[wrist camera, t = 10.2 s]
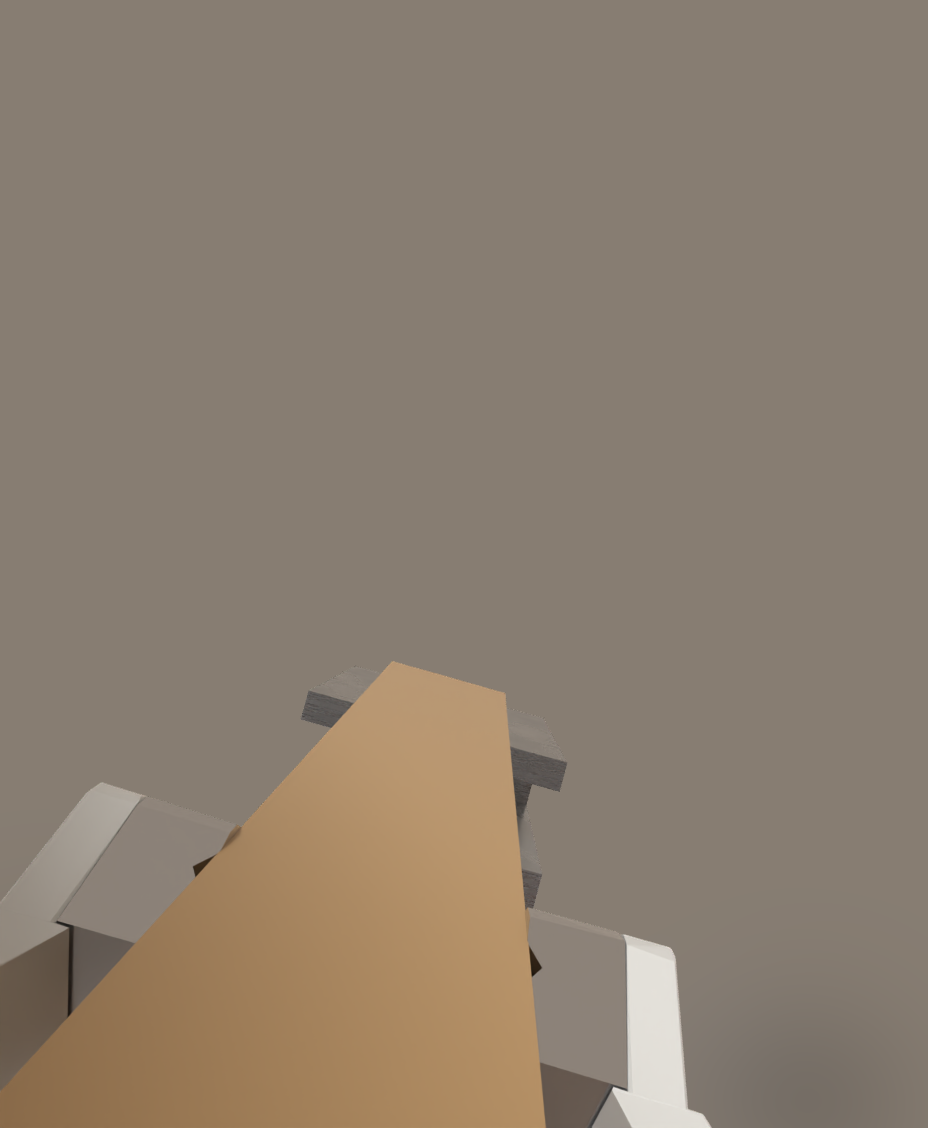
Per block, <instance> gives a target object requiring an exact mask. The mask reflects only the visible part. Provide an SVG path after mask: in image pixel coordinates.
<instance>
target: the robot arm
mask: <svg viewBox="0 0 928 1128" xmlns="http://www.w3.org/2000/svg"><path fill="white" fill-rule="evenodd" d="M240 828H241V827H240V826H238V825H237V824H233V823H231V822H228V821H224V820H221V819H218V818H215V817H211V816H209V815H206V814H202V813H199V812H196V811H193V810H190V809H187V808H183V807H180V806H177V805H174V804H171V803H168V802H164V801H162V800H158V799H155V798H152V797H149V796H144V795H141V794H138V793H134V792H131V791H128V790H124V789H121V788H118V787H115V786H112V785H109V784H105V783H102V782H101V783H100V784H98V785H97V786H95V787H94V788H92V789H91V790H90V791H88V792H87V793H86V794H85V796H84V797H83V798H82V799H81V800H80V802H79V803H78V804H77V805H76V807H75V808H74V809H73V811H72V812H71V813H70V814H69V816H68V817H67V818H66V819H65V821H64V822H63V823H62V825H61V826H60V827H59V828H58V830H57V831H56V832H55V833H54V835H53V836H52V837H51V839H50V840H49V841H48V842H47V843H46V845H45V846H44V847H43V849H42V850H41V851H40V853H39V854H38V855H37V856H36V857H35V859H34V860H33V861H32V863H31V864H30V865H29V867H28V868H27V869H26V870H25V872H24V873H23V874H22V875H21V877H20V878H19V879H18V880H17V882H16V883H15V884H14V886H13V887H12V888H11V889H10V890H9V892H8V893H7V894H6V896H5V897H4V898H3V899H2V901H1V902H0V1091H1V1090H2V1089H3V1088H4V1087H5V1086H6V1085H7V1084H8V1083H9V1082H10V1080H11V1079H12V1078H13V1077H14V1076H15V1075H16V1074H17V1073H18V1072H19V1071H20V1069H21V1068H22V1067H23V1066H24V1065H25V1064H26V1063H27V1062H28V1061H29V1060H30V1058H31V1057H32V1056H33V1055H34V1054H35V1053H36V1052H37V1051H38V1050H39V1049H40V1048H41V1046H42V1045H43V1044H44V1043H45V1042H46V1041H47V1040H48V1039H49V1038H50V1037H51V1035H52V1034H53V1033H54V1032H55V1031H56V1030H57V1029H58V1028H59V1027H60V1026H61V1024H62V1023H63V1022H64V1021H65V1020H66V1019H67V1018H68V1017H69V1016H70V1015H71V1013H72V1012H73V1011H74V1010H75V1009H76V1008H77V1007H78V1006H79V1005H80V1004H81V1002H82V1001H83V1000H84V999H85V998H86V997H87V996H88V995H89V994H90V993H91V992H92V990H93V989H94V988H95V987H96V986H97V985H98V984H99V983H100V982H101V981H102V979H103V978H104V977H105V976H106V975H107V974H108V973H109V972H110V971H111V970H112V968H113V967H114V966H115V965H116V964H117V963H118V962H119V961H120V960H121V959H122V957H123V956H124V955H125V954H126V953H127V952H128V951H129V950H130V949H131V948H132V946H133V945H134V944H135V943H136V942H137V941H138V940H139V939H140V938H141V937H142V936H143V934H144V933H145V932H146V931H147V930H148V929H149V928H150V927H151V926H152V925H153V923H154V922H155V921H156V920H157V919H158V918H159V917H160V916H161V915H162V914H163V912H164V911H165V910H166V909H167V908H168V907H169V906H170V905H171V904H172V903H173V901H174V900H175V899H176V898H177V897H178V896H179V895H180V894H181V893H182V892H183V891H184V889H185V888H186V887H187V886H188V885H189V884H190V883H191V882H192V881H193V880H194V878H195V877H196V876H197V875H198V874H199V873H200V872H201V871H202V870H203V869H204V867H205V866H206V865H207V864H208V863H209V862H210V861H211V860H212V859H213V858H214V856H215V855H216V854H217V853H218V852H220V851H221V850H222V849H223V848H224V846H225V845H226V844H227V843H228V842H229V841H230V840H231V839H232V838H233V837H234V836H235V834H236V833H237V832H238V831H239V830H240ZM525 921H526V932H527V942H528V944H529V954H530V965H531V976H532V986H533V997H534V1008H535V1018H536V1029H537V1040H538V1050H539V1061H540V1072H541V1083H542V1093H543V1104H544V1115H545V1125H546V1128H711V1126H710V1124H709V1123H708V1121H707V1119H706V1118H705V1116H704V1115H703V1114H701V1113H698V1112H695V1111H692V1110H689V1109H688V1103H687V1092H686V1079H685V1067H684V1055H683V1043H682V1030H681V1018H680V1005H679V994H678V981H677V968H676V958H675V956H674V954H673V952H672V950H671V948H670V947H666V946H662V945H659V944H656V943H652V942H649V941H645V940H642V939H638V938H634V937H631V936H628V935H624V934H623V935H620V933H619V932H615V931H612V930H609V929H605V928H601V927H598V926H594V925H590V924H586V923H583V922H580V921H576V920H572V919H569V918H565V917H561V916H558V915H554V914H551V913H547V912H543V911H539V910H536V909H532V908H529V907H528V908H527V909H526V911H525Z"/></svg>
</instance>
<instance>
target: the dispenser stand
mask: <svg viewBox="0 0 928 1128" xmlns="http://www.w3.org/2000/svg"><path fill="white" fill-rule="evenodd" d="M380 674H381V673H379V672H375V671H372V670H368V669H365V668H361V667H358V666H354V667H353V668H351V669H349V670H347V671H345V672H343V673H342V674H339V675H337V676H335V677H334V678H332V679H330V680H328V681H326V682H324V683H322V684H320V685H319V686H316V687H315V688H313V689H311V690H309V692H308V695H307V699H306V703H305V706H304V710H303V713H302V717H301V720H305V721H309V722H313V723H316V724H319V725H323V726H326V727H330V728H332V727H333V726H334V725H335V724H336V723H337V721H338V720H339V719H340V718H341V717H342V716H343V715H344V714H345V713H346V712H347V710H348V709H349V708H350V707H351V706H352V705H353V704H354V703H355V702H356V701H357V699H358V698H359V697H360V696H361V695H362V694H363V693H364V692H365V691H366V690H367V688H368V687H369V686H370V685H371V684H372V683H373V682H374V681H375V680H376V679H377V677H378V676H379V675H380ZM506 709H507V719H508V730H509V741H510V751H511V762H512V773H513V783H514V794H515V805H516V815H517V826H518V837H519V847H520V858H521V869H522V879H523V890H524V901H525V911H526V909H527V908H528V907H529V908H532V909H533V906H534V903H535V899H536V895H537V892H538V888H539V884H540V880H541V877H542V872H541V867H540V863H539V859H538V854H537V850H536V845H535V841H534V836H533V832H532V828H531V823H530V819H529V814H528V810H527V805H526V804H527V801H528V797H529V793H530V789H531V785H532V784H534V785H537V786H541V787H545V788H548V789H552V790H555V791H559V792H560V788H561V784H562V781H563V777H564V773H565V769H566V766H567V761H566V759H565V757H564V755H563V754H562V752H561V750H560V748H559V746H558V744H557V743H556V741H555V739H554V737H553V735H552V733H551V731H550V729H549V728H548V726H547V724H546V722H545V720H544V718H541V717H538V716H534V715H530V714H527V713H523V712H520V711H516V710H513V709H509V708H506Z"/></svg>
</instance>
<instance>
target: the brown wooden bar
mask: <svg viewBox="0 0 928 1128" xmlns="http://www.w3.org/2000/svg"><path fill="white" fill-rule="evenodd" d="M0 1128H546V1125H545V1115H544V1104H543V1093H542V1083H541V1072H540V1061H539V1050H538V1040H537V1029H536V1018H535V1008H534V997H533V986H532V976H531V965H530V954H529V944H528V942H527V932H526V921H525V901H524V890H523V879H522V869H521V858H520V847H519V837H518V826H517V815H516V805H515V794H514V783H513V773H512V762H511V751H510V741H509V730H508V719H507V709H506V698H505V693H503V692H499V691H495V690H492V689H489V688H485V687H481V686H478V685H475V684H471V683H467V682H464V681H460V680H457V679H453V678H450V677H446V676H443V675H439V674H436V673H432V672H429V671H425V670H422V669H418V668H415V667H411V666H407V665H404V664H401V663H397V662H393V661H392V662H391V663H390V664H389V666H388V667H387V668H386V669H385V670H384V671H383V672H382V673H381V674H380V675H379V676H378V677H377V679H376V680H375V681H374V682H373V683H372V684H371V685H370V686H369V687H368V688H367V690H366V691H365V692H364V693H363V694H362V695H361V696H360V697H359V698H358V699H357V701H356V702H355V703H354V704H353V705H352V706H351V707H350V708H349V709H348V710H347V712H346V713H345V714H344V715H343V716H342V717H341V718H340V719H339V720H338V721H337V723H336V724H335V725H334V726H333V727H332V728H331V729H330V730H329V731H328V733H326V735H325V736H324V737H323V738H322V739H321V740H320V741H319V742H318V743H317V745H316V746H315V747H314V748H313V749H312V750H311V751H310V752H309V753H308V754H307V756H306V757H305V758H304V759H303V760H302V761H301V762H300V763H299V764H298V765H297V767H296V768H295V769H294V770H293V771H292V772H291V773H290V774H289V775H288V776H287V777H286V779H285V780H284V781H283V782H282V783H281V784H280V785H279V786H278V787H277V788H276V789H275V791H274V792H273V793H272V794H271V795H270V796H269V797H268V798H267V799H266V801H265V802H264V803H263V804H262V805H261V806H260V807H259V808H258V809H257V810H256V811H255V813H254V814H253V815H252V816H251V817H250V818H249V819H248V820H247V821H246V823H245V824H244V825H243V826H242V827H241V828H240V830H239V831H238V832H237V833H236V834H235V836H234V837H233V838H232V839H231V840H230V841H229V842H228V843H227V844H226V845H225V846H224V848H223V849H222V850H221V851H220V852H218V853H217V854H216V855H215V856H214V858H213V859H212V860H211V861H210V862H209V863H208V864H207V865H206V866H205V867H204V869H203V870H202V871H201V872H200V873H199V874H198V875H197V876H196V877H195V878H194V880H193V881H192V882H191V883H190V884H189V885H188V886H187V887H186V888H185V889H184V891H183V892H182V893H181V894H180V895H179V896H178V897H177V898H176V899H175V900H174V901H173V903H172V904H171V905H170V906H169V907H168V908H167V909H166V910H165V911H164V912H163V914H162V915H161V916H160V917H159V918H158V919H157V920H156V921H155V922H154V923H153V925H152V926H151V927H150V928H149V929H148V930H147V931H146V932H145V933H144V934H143V936H142V937H141V938H140V939H139V940H138V941H137V942H136V943H135V944H134V945H133V946H132V948H131V949H130V950H129V951H128V952H127V953H126V954H125V955H124V956H123V957H122V959H121V960H120V961H119V962H118V963H117V964H116V965H115V966H114V967H113V968H112V970H111V971H110V972H109V973H108V974H107V975H106V976H105V977H104V978H103V979H102V981H101V982H100V983H99V984H98V985H97V986H96V987H95V988H94V989H93V990H92V992H91V993H90V994H89V995H88V996H87V997H86V998H85V999H84V1000H83V1001H82V1002H81V1004H80V1005H79V1006H78V1007H77V1008H76V1009H75V1010H74V1011H73V1012H72V1013H71V1015H70V1016H69V1017H68V1018H67V1019H66V1020H65V1021H64V1022H63V1023H62V1024H61V1026H60V1027H59V1028H58V1029H57V1030H56V1031H55V1032H54V1033H53V1034H52V1035H51V1037H50V1038H49V1039H48V1040H47V1041H46V1042H45V1043H44V1044H43V1045H42V1046H41V1048H40V1049H39V1050H38V1051H37V1052H36V1053H35V1054H34V1055H33V1056H32V1057H31V1058H30V1060H29V1061H28V1062H27V1063H26V1064H25V1065H24V1066H23V1067H22V1068H21V1069H20V1071H19V1072H18V1073H17V1074H16V1075H15V1076H14V1077H13V1078H12V1079H11V1080H10V1082H9V1083H8V1084H7V1085H6V1086H5V1087H4V1088H3V1089H2V1090H1V1091H0Z"/></svg>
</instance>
